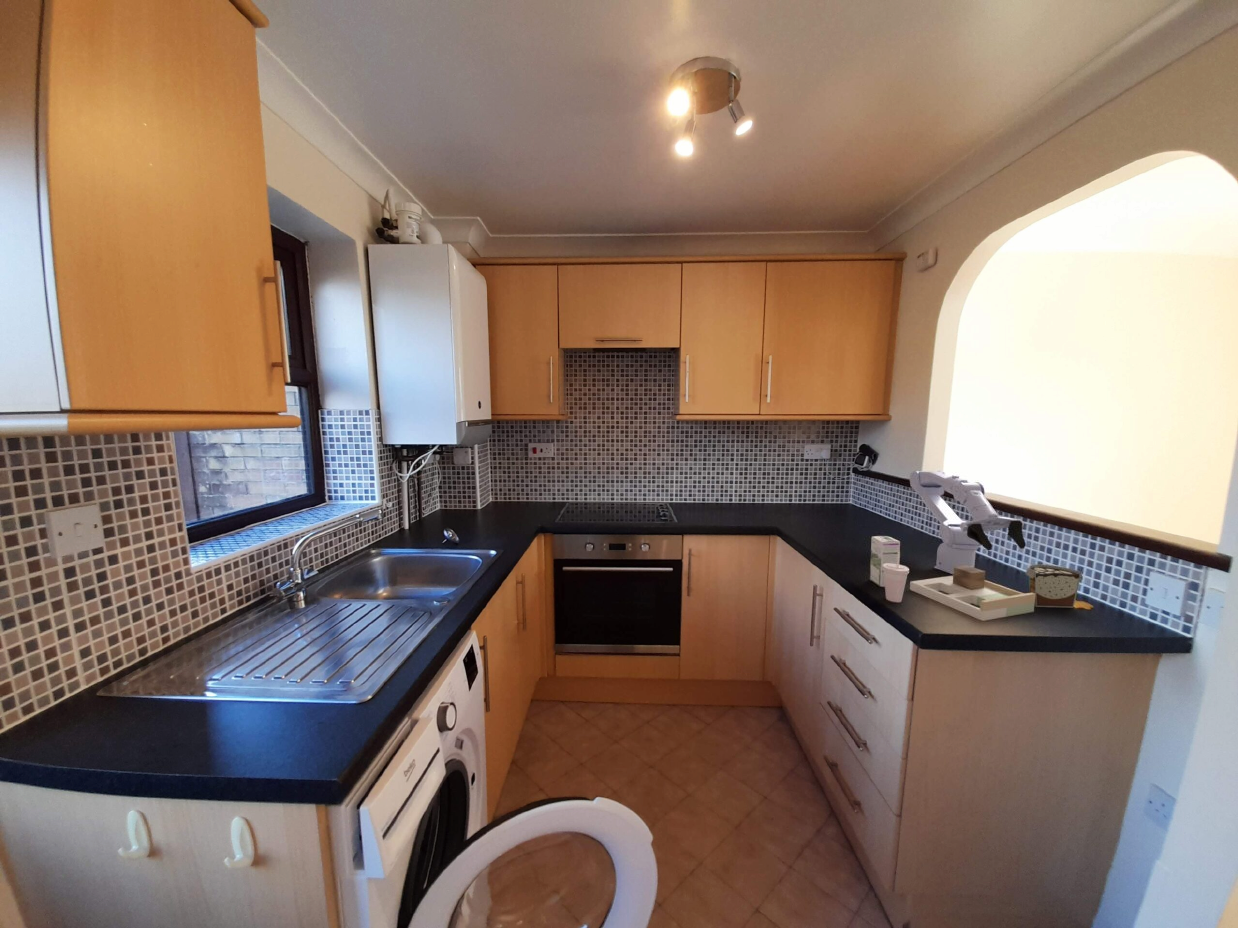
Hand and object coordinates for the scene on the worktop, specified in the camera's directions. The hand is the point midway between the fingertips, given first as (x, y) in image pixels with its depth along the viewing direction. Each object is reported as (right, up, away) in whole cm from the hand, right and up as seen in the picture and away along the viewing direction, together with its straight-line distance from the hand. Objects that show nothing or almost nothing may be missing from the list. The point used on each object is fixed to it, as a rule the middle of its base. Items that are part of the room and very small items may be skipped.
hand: (1006, 547), depth 115 cm
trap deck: (-10, -15, +1) cm, 18 cm away
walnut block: (-7, -12, +5) cm, 15 cm away
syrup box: (-26, -14, +14) cm, 33 cm away
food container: (+10, -15, -1) cm, 18 cm away
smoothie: (-30, -16, +3) cm, 34 cm away
